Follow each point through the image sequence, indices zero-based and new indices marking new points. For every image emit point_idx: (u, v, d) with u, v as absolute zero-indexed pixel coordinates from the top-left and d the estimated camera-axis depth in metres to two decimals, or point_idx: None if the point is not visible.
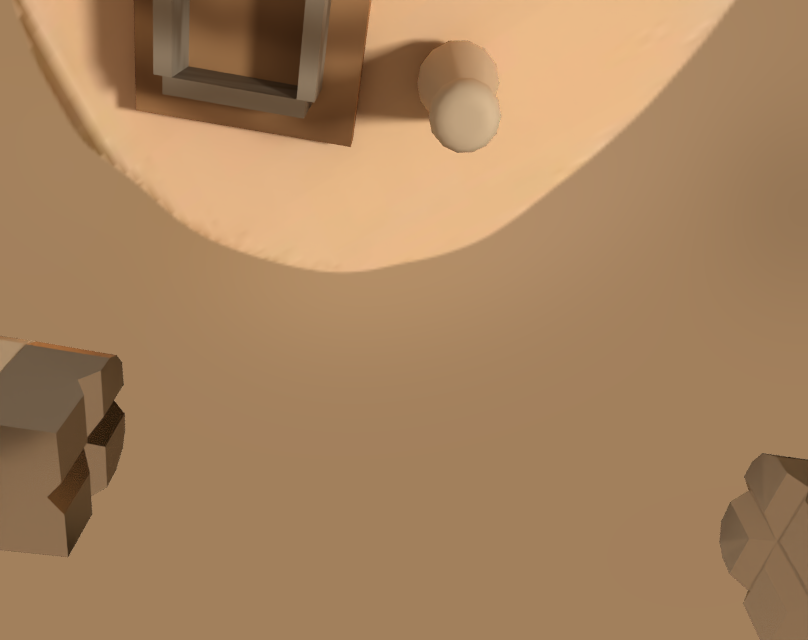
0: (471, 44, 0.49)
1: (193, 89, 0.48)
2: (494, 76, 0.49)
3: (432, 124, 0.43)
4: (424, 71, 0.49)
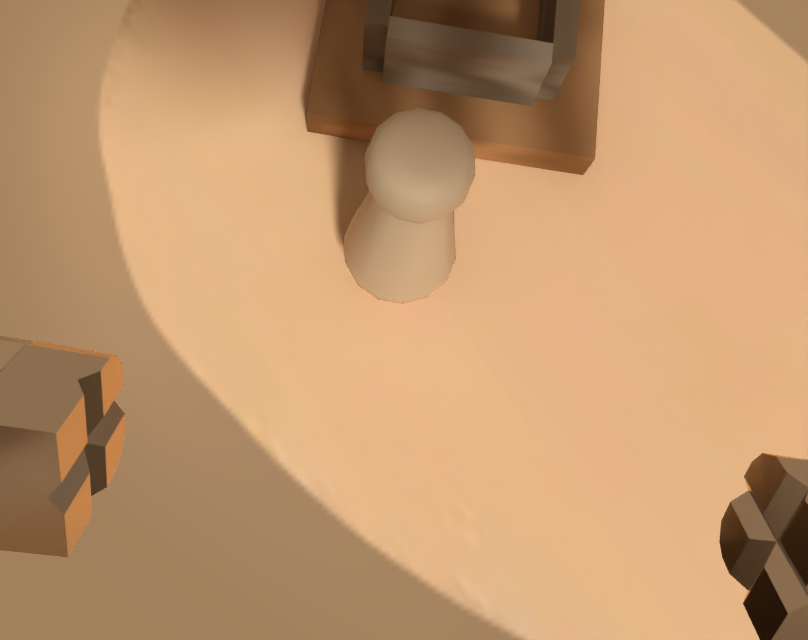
0: (454, 259, 0.36)
1: None
2: (423, 280, 0.34)
3: (411, 110, 0.28)
4: None
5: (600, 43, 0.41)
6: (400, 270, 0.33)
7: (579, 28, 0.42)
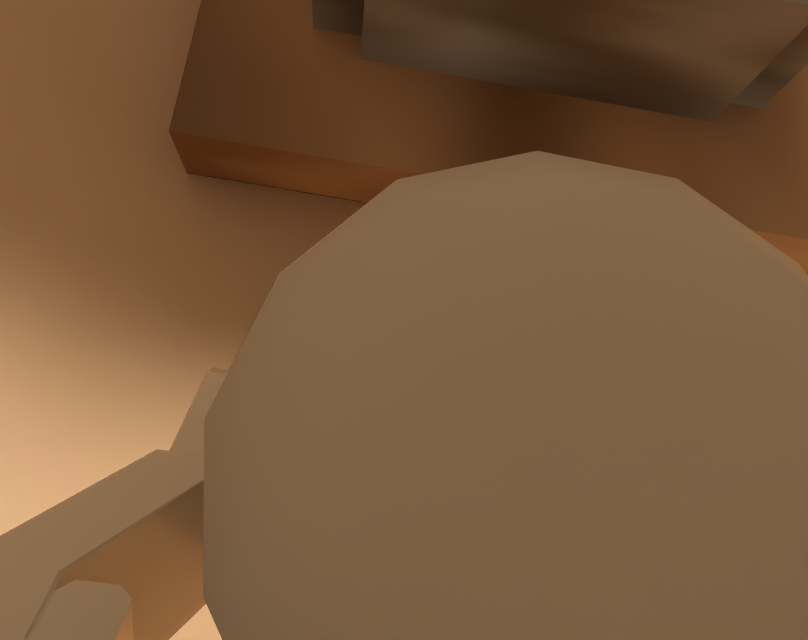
0: None
1: None
2: None
3: (494, 165, 0.04)
4: None
5: None
6: None
7: None
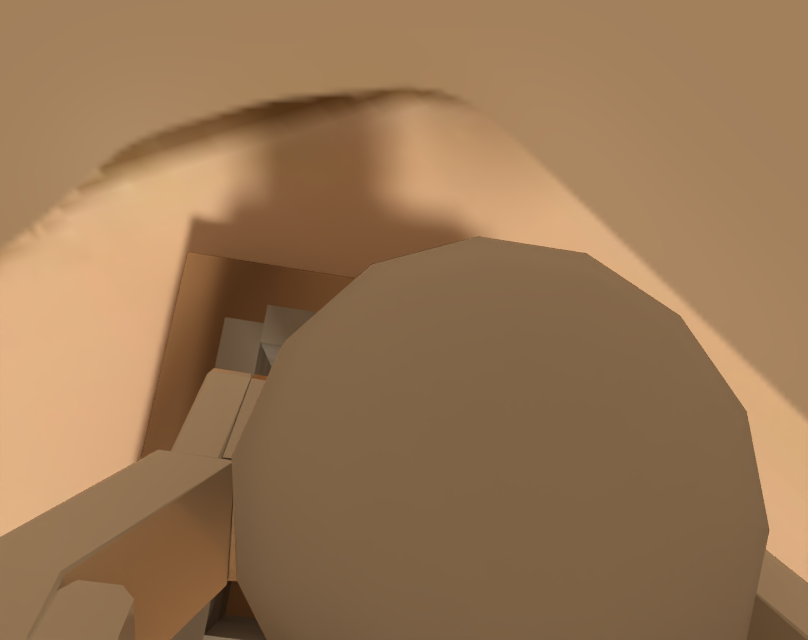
0: None
1: None
2: None
3: (445, 250, 0.06)
4: None
5: None
6: None
7: None
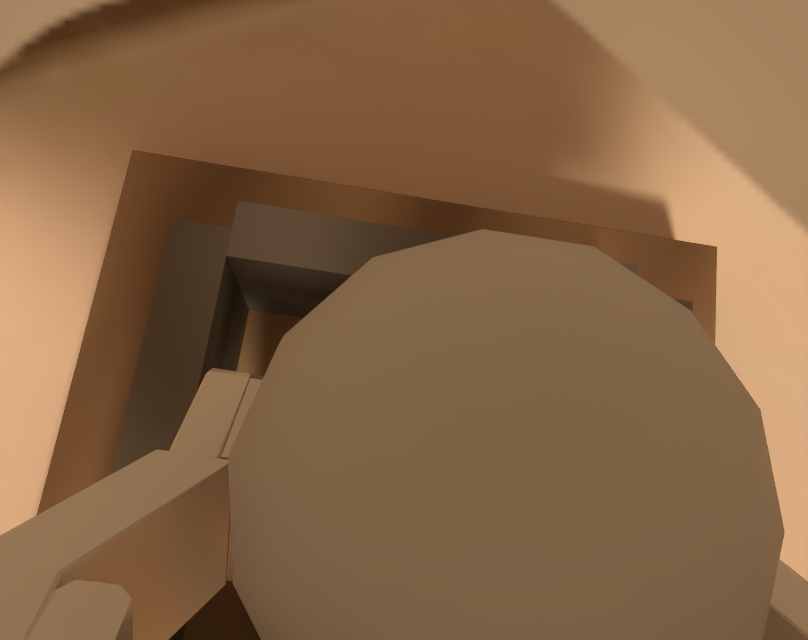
0: None
1: (183, 322, 0.14)
2: None
3: (449, 243, 0.06)
4: None
5: None
6: None
7: None
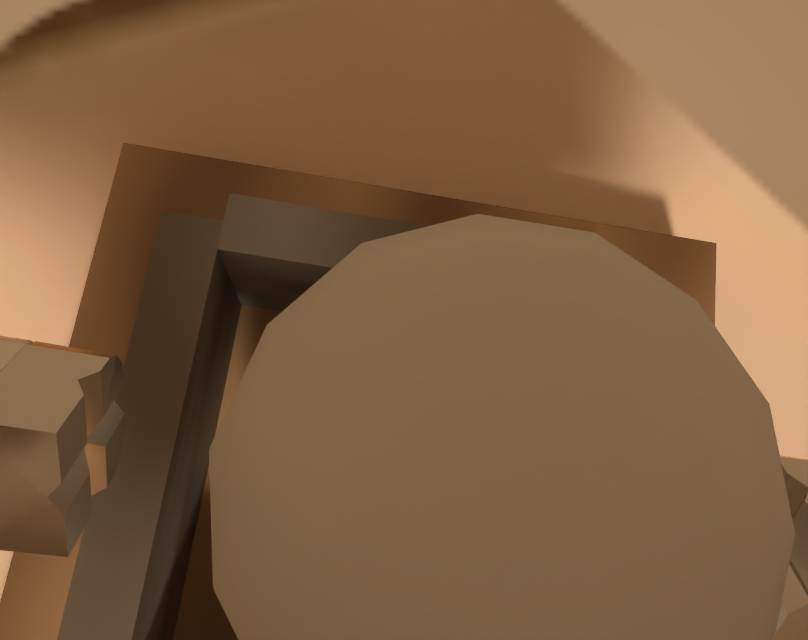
0: None
1: (172, 316, 0.14)
2: None
3: (442, 228, 0.05)
4: None
5: None
6: None
7: None
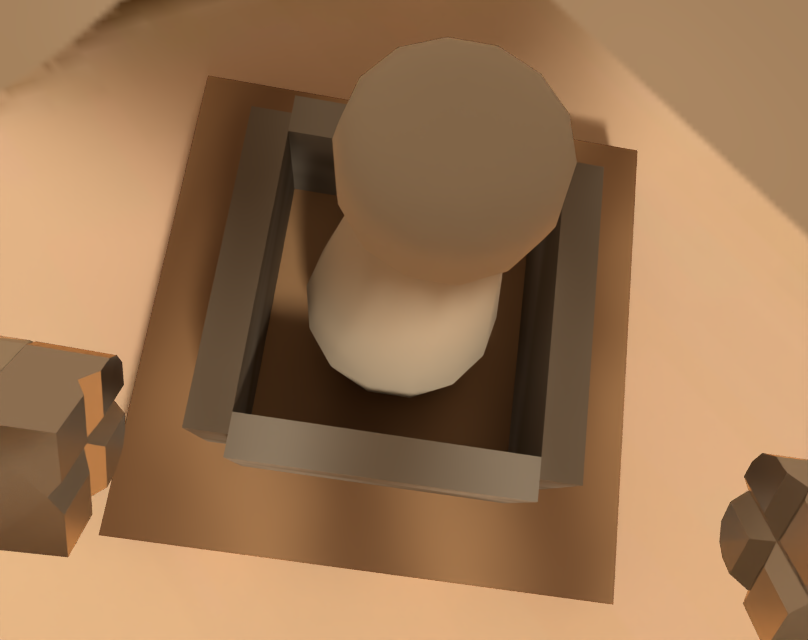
0: (494, 320, 0.22)
1: (260, 172, 0.21)
2: (446, 365, 0.19)
3: (431, 42, 0.13)
4: None
5: (622, 374, 0.24)
6: (407, 355, 0.18)
7: None
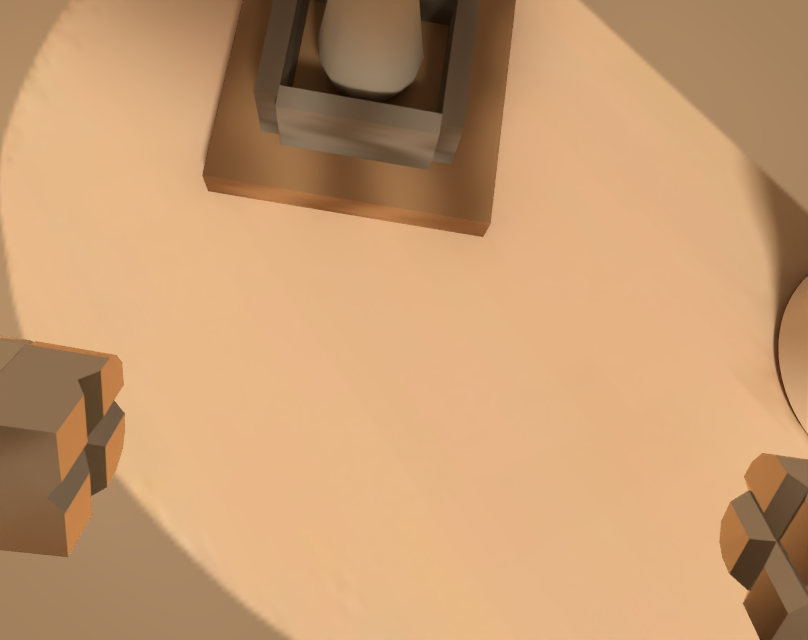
0: (421, 56, 0.39)
1: None
2: (392, 65, 0.37)
3: None
4: None
5: (502, 107, 0.42)
6: (370, 49, 0.36)
7: (481, 91, 0.42)
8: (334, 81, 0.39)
